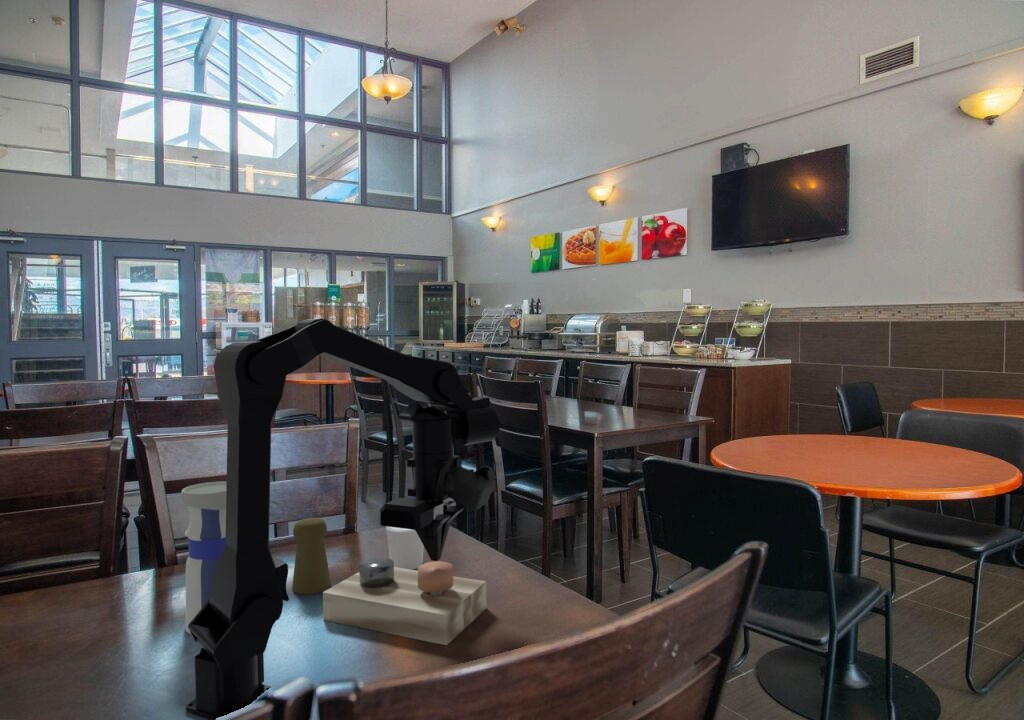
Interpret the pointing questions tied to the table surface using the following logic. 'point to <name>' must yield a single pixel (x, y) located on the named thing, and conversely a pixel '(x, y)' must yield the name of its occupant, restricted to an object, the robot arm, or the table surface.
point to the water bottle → (203, 541)
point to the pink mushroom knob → (435, 577)
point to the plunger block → (406, 606)
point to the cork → (310, 557)
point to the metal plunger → (376, 572)
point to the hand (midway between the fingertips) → (435, 560)
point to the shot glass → (405, 547)
